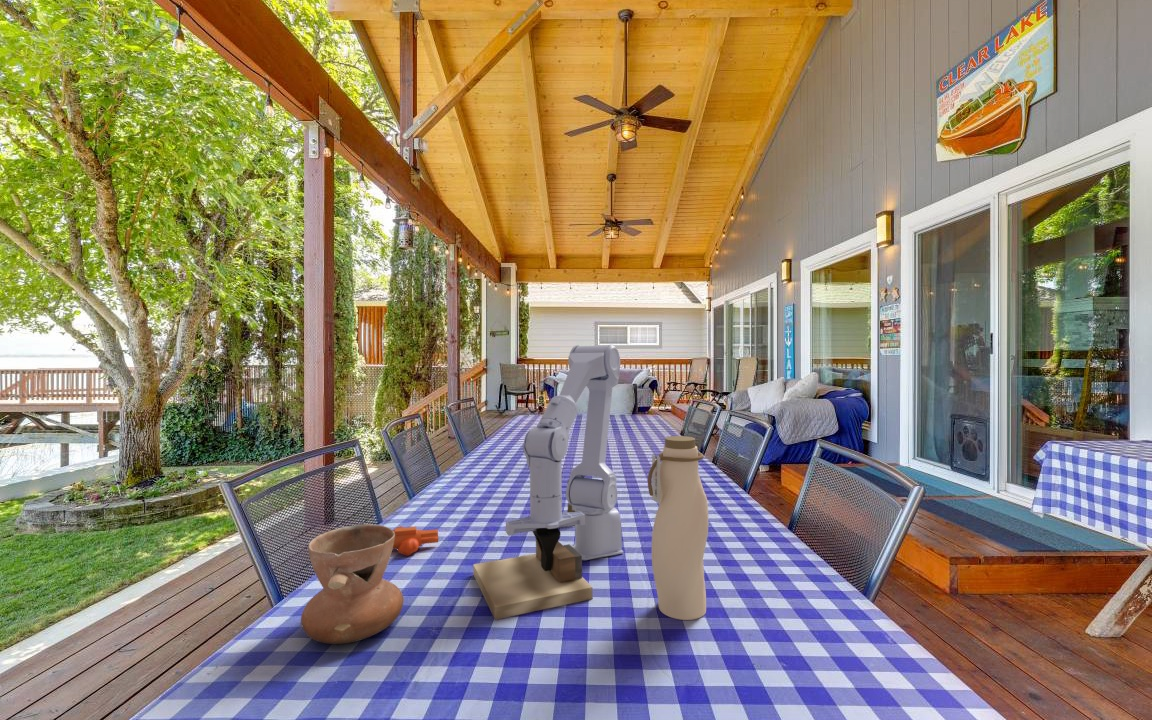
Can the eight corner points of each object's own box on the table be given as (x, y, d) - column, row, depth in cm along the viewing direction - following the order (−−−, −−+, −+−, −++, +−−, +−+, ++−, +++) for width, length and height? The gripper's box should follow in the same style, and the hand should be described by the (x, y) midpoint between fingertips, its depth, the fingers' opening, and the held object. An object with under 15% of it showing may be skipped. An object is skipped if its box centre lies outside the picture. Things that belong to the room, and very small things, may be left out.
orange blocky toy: (438, 518, 113) (381, 523, 110) (437, 540, 106) (376, 546, 103) (438, 537, 114) (382, 542, 112) (437, 560, 108) (378, 566, 105)
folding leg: (533, 554, 100) (533, 534, 100) (548, 551, 101) (548, 532, 101) (559, 582, 88) (558, 559, 88) (575, 578, 89) (575, 556, 89)
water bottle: (671, 630, 76) (669, 446, 76) (637, 605, 84) (635, 437, 84) (722, 613, 81) (720, 440, 81) (685, 591, 89) (683, 432, 89)
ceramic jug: (390, 655, 71) (389, 555, 71) (280, 665, 69) (278, 562, 69) (413, 595, 89) (412, 515, 88) (326, 602, 86) (325, 519, 86)
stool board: (556, 560, 103) (556, 530, 103) (592, 598, 86) (592, 564, 86) (473, 574, 97) (472, 543, 97) (495, 619, 80) (494, 582, 80)
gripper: (512, 504, 85) (513, 584, 85) (591, 494, 90) (592, 570, 90) (502, 494, 91) (503, 568, 91) (576, 485, 97) (577, 556, 97)
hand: (546, 568), depth 91 cm, fingers closed
